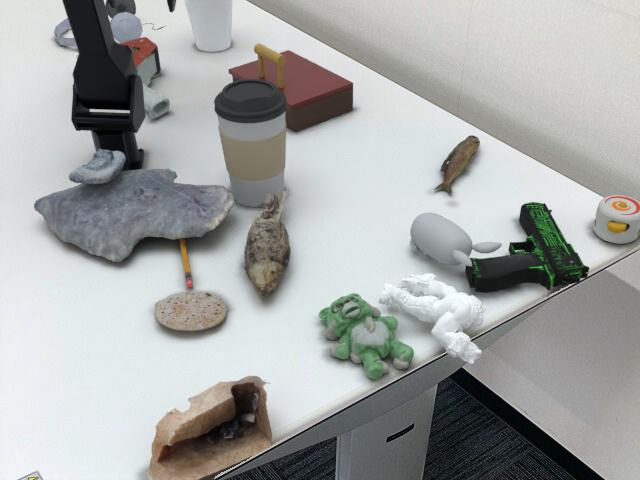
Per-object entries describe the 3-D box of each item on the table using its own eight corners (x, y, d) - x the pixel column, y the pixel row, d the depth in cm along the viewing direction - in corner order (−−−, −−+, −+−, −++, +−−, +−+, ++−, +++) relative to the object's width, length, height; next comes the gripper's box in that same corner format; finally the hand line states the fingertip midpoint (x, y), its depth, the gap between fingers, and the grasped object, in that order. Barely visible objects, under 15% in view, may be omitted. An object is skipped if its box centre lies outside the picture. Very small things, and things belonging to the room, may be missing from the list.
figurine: (367, 340, 82) (475, 374, 79) (370, 306, 78) (483, 340, 75) (399, 283, 88) (499, 312, 85) (403, 248, 84) (507, 278, 82)
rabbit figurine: (394, 243, 93) (458, 288, 85) (406, 204, 91) (473, 246, 83) (430, 243, 97) (495, 286, 89) (443, 206, 95) (510, 246, 87)
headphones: (160, 9, 150) (60, 36, 147) (150, -21, 145) (47, 7, 143) (172, 42, 137) (63, 72, 135) (161, 10, 133) (49, 41, 131)
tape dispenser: (166, 131, 119) (196, 70, 132) (162, 100, 115) (193, 40, 128) (56, 119, 119) (97, 60, 133) (48, 88, 115) (91, 30, 129)
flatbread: (234, 300, 87) (233, 292, 87) (218, 338, 81) (217, 330, 81) (164, 292, 88) (163, 285, 87) (143, 330, 82) (142, 322, 81)
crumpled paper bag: (144, 478, 69) (134, 403, 65) (255, 434, 76) (251, 364, 72) (174, 506, 65) (165, 428, 61) (288, 457, 72) (285, 385, 68)
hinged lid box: (295, 132, 116) (294, 108, 113) (234, 95, 125) (231, 72, 122) (353, 110, 121) (353, 87, 119) (289, 76, 130) (289, 54, 128)
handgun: (477, 306, 86) (600, 292, 88) (481, 285, 84) (606, 272, 86) (437, 228, 97) (547, 218, 100) (440, 208, 95) (551, 198, 98)
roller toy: (659, 207, 93) (626, 185, 97) (619, 220, 91) (587, 198, 95) (649, 237, 96) (618, 215, 100) (610, 251, 94) (580, 227, 98)
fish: (459, 141, 114) (458, 127, 112) (483, 143, 113) (483, 128, 111) (428, 203, 103) (427, 188, 101) (454, 205, 101) (454, 190, 100)
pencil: (193, 287, 88) (192, 282, 87) (187, 288, 88) (186, 283, 87) (178, 201, 101) (177, 195, 100) (172, 201, 101) (171, 196, 100)
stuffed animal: (367, 391, 76) (368, 361, 73) (301, 326, 83) (300, 297, 80) (427, 359, 80) (431, 329, 77) (359, 300, 87) (360, 271, 84)
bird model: (227, 278, 82) (244, 313, 85) (279, 264, 81) (294, 300, 84) (239, 184, 98) (252, 216, 101) (282, 171, 97) (295, 204, 100)
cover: (291, 109, 113) (289, 71, 109) (228, 73, 122) (224, 37, 118) (353, 87, 119) (353, 50, 115) (288, 54, 128) (287, 18, 124)
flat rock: (248, 189, 102) (70, 174, 104) (244, 157, 98) (59, 142, 100) (216, 283, 91) (17, 264, 93) (209, 251, 87) (2, 232, 89)
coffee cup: (218, 182, 105) (204, 77, 95) (280, 171, 107) (274, 67, 97) (234, 217, 99) (221, 108, 88) (300, 204, 101) (295, 96, 91)
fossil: (86, 171, 89) (55, 162, 91) (92, 198, 91) (62, 189, 93) (134, 145, 94) (103, 138, 96) (139, 171, 96) (109, 163, 98)
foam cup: (246, 50, 138) (239, -26, 129) (197, 58, 135) (187, -19, 126) (229, 32, 144) (221, -42, 135) (182, 39, 141) (171, -35, 133)
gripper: (206, -118, 109) (217, -5, 120) (83, -124, 111) (105, -12, 122) (181, -100, 101) (196, 20, 112) (49, -107, 103) (76, 12, 114)
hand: (143, 9), depth 115 cm, fingers open, 9 cm apart
